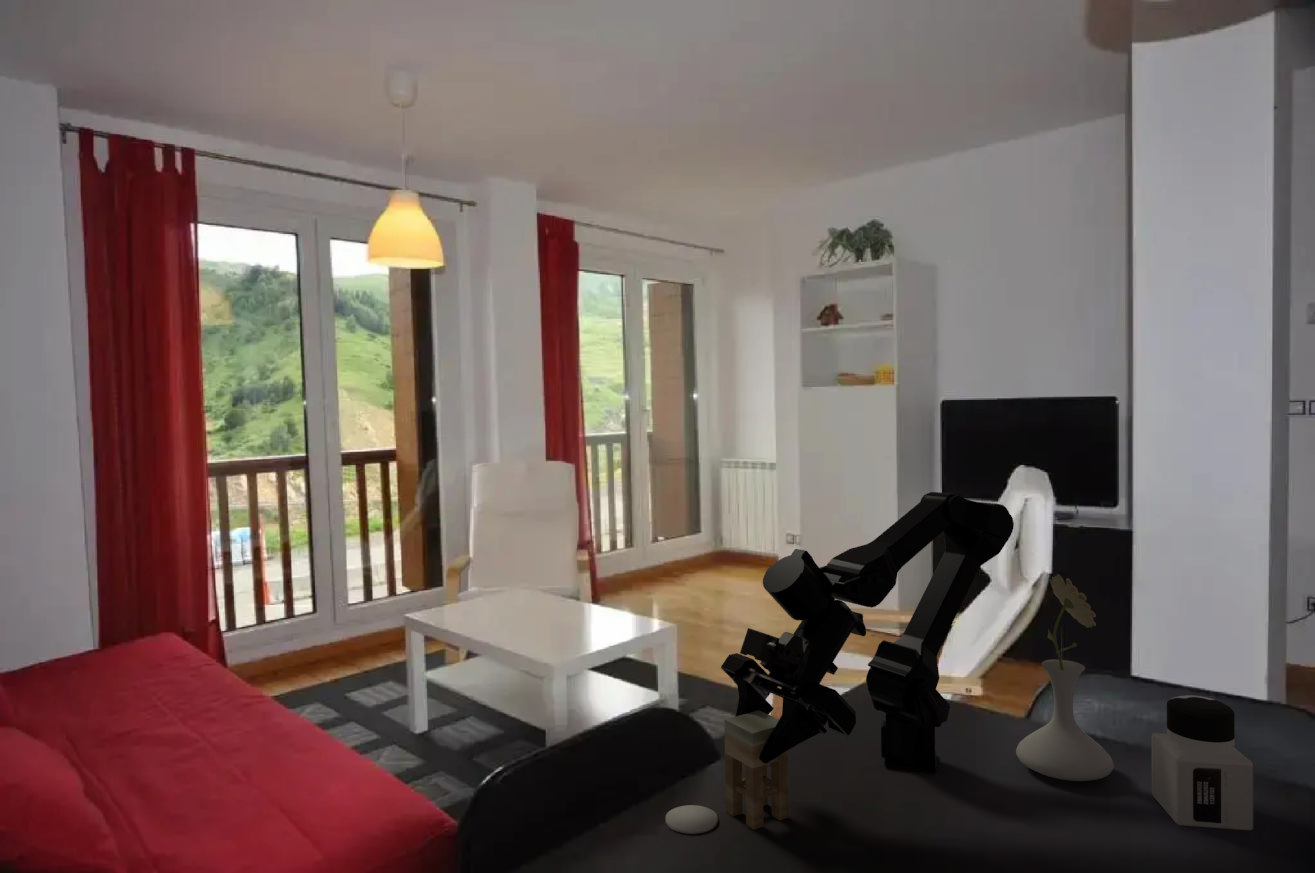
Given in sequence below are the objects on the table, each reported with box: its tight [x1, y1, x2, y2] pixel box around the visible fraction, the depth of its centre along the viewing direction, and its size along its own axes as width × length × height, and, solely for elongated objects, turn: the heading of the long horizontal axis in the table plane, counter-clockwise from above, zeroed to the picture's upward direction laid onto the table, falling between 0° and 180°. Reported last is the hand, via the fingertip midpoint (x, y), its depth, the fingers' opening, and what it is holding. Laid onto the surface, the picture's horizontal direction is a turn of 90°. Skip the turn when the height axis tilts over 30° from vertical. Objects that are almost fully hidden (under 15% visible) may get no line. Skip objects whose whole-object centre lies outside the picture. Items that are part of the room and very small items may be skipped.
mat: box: [665, 804, 719, 835], centre depth 96 cm, size 6×6×1 cm
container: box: [1151, 694, 1254, 831], centre depth 96 cm, size 8×8×13 cm
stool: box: [723, 710, 790, 831], centre depth 97 cm, size 5×5×11 cm
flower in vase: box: [1015, 573, 1115, 782], centre depth 108 cm, size 13×11×25 cm
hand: (746, 752), depth 96 cm, fingers closed on stool, 5 cm apart
